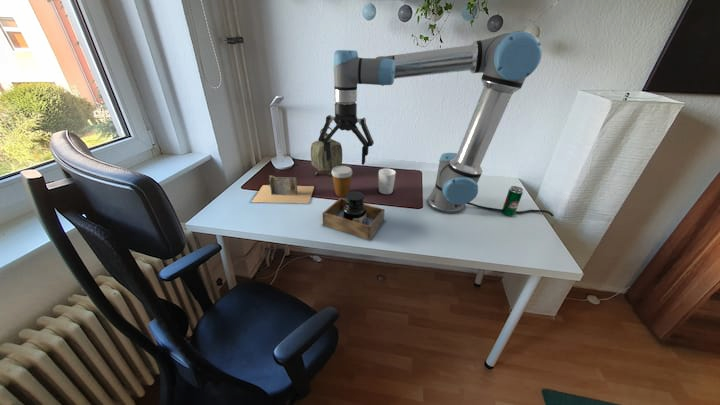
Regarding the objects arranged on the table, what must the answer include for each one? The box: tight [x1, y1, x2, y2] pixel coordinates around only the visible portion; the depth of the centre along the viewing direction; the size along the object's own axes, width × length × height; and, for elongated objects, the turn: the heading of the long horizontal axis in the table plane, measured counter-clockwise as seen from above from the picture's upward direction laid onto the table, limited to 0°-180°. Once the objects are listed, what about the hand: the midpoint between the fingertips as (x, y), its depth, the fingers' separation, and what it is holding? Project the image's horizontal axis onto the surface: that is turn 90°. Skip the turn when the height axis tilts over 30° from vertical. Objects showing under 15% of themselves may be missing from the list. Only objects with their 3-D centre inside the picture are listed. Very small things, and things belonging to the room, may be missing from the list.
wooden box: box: [322, 197, 385, 241], centre depth 104 cm, size 20×14×6 cm
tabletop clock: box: [310, 126, 343, 177], centre depth 138 cm, size 14×9×25 cm, turn 130°
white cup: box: [377, 167, 397, 195], centre depth 127 cm, size 8×8×10 cm
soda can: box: [501, 185, 524, 217], centre depth 111 cm, size 5×5×12 cm
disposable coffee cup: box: [330, 165, 354, 198], centre depth 123 cm, size 10×10×12 cm
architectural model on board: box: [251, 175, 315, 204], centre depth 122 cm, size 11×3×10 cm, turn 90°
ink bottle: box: [342, 191, 367, 225], centre depth 103 cm, size 10×9×12 cm
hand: (345, 161), depth 102 cm, fingers open, 13 cm apart
